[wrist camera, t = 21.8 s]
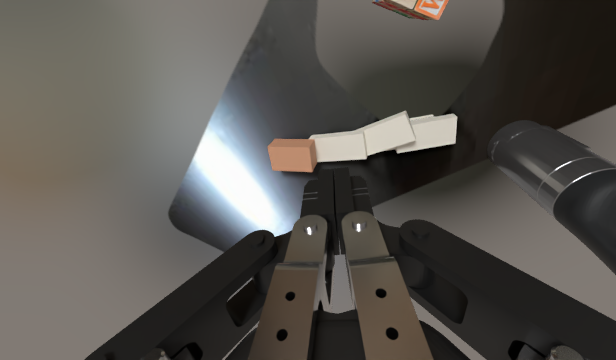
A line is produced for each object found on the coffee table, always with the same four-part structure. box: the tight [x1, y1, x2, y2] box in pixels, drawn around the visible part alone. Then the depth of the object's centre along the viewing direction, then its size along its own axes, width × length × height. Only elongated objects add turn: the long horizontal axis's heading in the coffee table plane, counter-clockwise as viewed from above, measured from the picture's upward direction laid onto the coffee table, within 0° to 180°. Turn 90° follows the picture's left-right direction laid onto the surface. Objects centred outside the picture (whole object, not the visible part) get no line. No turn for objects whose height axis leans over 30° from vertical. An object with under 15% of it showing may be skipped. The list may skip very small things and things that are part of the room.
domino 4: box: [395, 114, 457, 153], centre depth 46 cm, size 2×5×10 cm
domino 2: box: [309, 130, 367, 162], centre depth 48 cm, size 2×5×10 cm
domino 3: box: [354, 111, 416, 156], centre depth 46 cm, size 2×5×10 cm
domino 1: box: [268, 139, 317, 172], centre depth 49 cm, size 4×5×8 cm
